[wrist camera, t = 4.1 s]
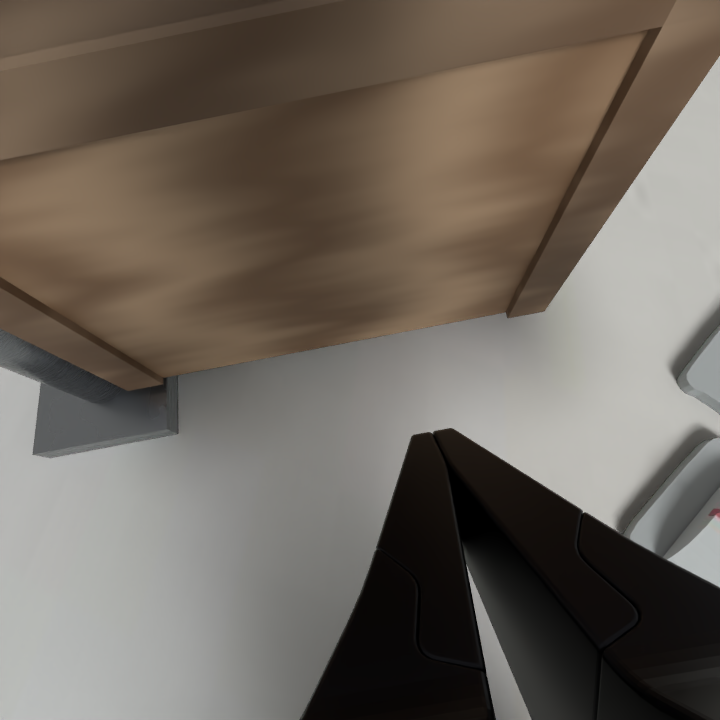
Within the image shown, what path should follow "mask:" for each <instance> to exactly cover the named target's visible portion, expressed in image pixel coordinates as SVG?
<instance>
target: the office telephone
mask: <svg viewBox="0 0 720 720" xmlns="http://www.w3.org/2000/svg"><path fill="white" fill-rule="evenodd" d="M677 384H678V386H679V388H680V389H681V390H682V391H683V392H684V393H686V394H688V395H691V396H693V397H695V398H697V399H698V400H700V401H701V402H703V403H704V404H706V405H707V406H709V407H710V408H712V409H713V410H715V411H716V412H717V413H719V414H720V325H719V326H718V327H717V328H716V329H715V330H714V332H713V333H712V334H711V335H710V336H709V337H708V338H707V340H706V341H705V342H704V343H703V345H702V346H701V347H700V349H699V350H698V351H697V352H696V354H695V355H694V356H693V358H692V359H691V360H690V361H689V363H688V364H687V365H686V367H685V368H684V369H683V370H682V372H681V374H680V375H679V377H678V378H677ZM623 535H624V536H626V537H627V538H629V539H631V540H632V541H634V542H636V543H638V544H639V545H641V546H643V547H645V548H647V549H649V550H650V551H652V552H654V553H656V554H658V555H660V556H661V557H663V558H665V559H667V560H669V561H671V562H672V563H674V564H676V565H678V566H680V567H682V568H684V569H686V570H688V571H690V572H692V573H693V574H695V575H697V576H699V577H701V578H703V579H705V580H707V581H709V582H711V583H713V584H715V585H716V586H718V587H720V438H714V439H710V440H706V441H703V442H702V443H700V444H699V445H697V446H696V448H695V449H694V450H693V451H692V452H691V453H690V454H689V455H688V456H687V457H686V458H685V459H684V460H683V461H682V462H681V463H680V465H679V466H678V467H677V468H676V469H675V470H674V471H673V472H672V474H671V475H670V476H669V477H668V478H667V479H666V481H665V482H664V483H663V484H662V485H661V487H660V488H659V489H658V490H657V491H656V492H655V494H654V495H653V496H652V497H651V498H650V499H649V501H648V502H647V503H646V504H645V505H644V507H643V508H642V509H641V510H640V511H639V512H638V514H637V515H636V516H635V517H634V518H633V520H632V521H631V522H630V523H629V525H628V527H627V528H626V530H625V532H624V533H623Z"/></svg>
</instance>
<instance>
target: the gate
mask: <svg viewBox="0 0 720 720" xmlns="http://www.w3.org/2000/svg"><path fill="white" fill-rule="evenodd" d="M719 56H720V0H0V329H2V330H4V331H6V332H8V333H10V334H12V335H14V336H16V337H19V338H21V339H23V340H25V341H27V342H29V343H31V344H33V345H35V346H37V347H39V348H41V349H43V350H45V351H47V352H49V353H51V354H53V355H55V356H57V357H59V358H61V359H63V360H65V361H67V362H70V363H72V364H74V365H76V366H78V367H80V368H82V369H84V370H86V371H88V372H90V373H92V374H94V375H96V376H98V377H100V378H102V379H104V380H106V381H108V382H110V383H112V384H114V385H116V386H118V387H121V388H123V389H125V390H127V391H131V390H136V389H141V388H146V387H152V386H157V385H162V384H163V378H165V377H171V376H176V375H181V374H186V373H191V372H197V371H202V370H207V369H212V368H218V367H223V366H228V365H233V364H238V363H244V362H249V361H254V360H259V359H264V358H270V357H275V356H280V355H285V354H291V353H296V352H301V351H306V350H311V349H317V348H322V347H327V346H332V345H337V344H343V343H348V342H353V341H358V340H364V339H369V338H374V337H379V336H384V335H390V334H395V333H400V332H405V331H410V330H416V329H421V328H426V327H431V326H437V325H442V324H447V323H452V322H457V321H463V320H468V319H473V318H478V317H483V316H489V315H494V314H499V313H504V312H506V315H507V318H512V317H517V316H522V315H528V314H533V313H538V312H543V311H545V310H546V308H547V307H548V305H549V304H550V302H551V301H552V299H553V298H554V296H555V295H556V294H557V292H558V291H559V289H560V288H561V286H562V285H563V283H564V282H565V280H566V279H567V277H568V276H569V275H570V273H571V272H572V270H573V269H574V267H575V266H576V264H577V263H578V261H579V260H580V259H581V257H582V256H583V254H584V253H585V251H586V250H587V248H588V247H589V245H590V244H591V242H592V241H593V240H594V238H595V237H596V235H597V234H598V232H599V231H600V229H601V228H602V226H603V225H604V224H605V222H606V221H607V219H608V218H609V216H610V215H611V213H612V212H613V210H614V209H615V207H616V206H617V205H618V203H619V202H620V200H621V199H622V197H623V196H624V194H625V193H626V191H627V190H628V189H629V187H630V186H631V184H632V183H633V181H634V180H635V178H636V177H637V175H638V174H639V172H640V171H641V170H642V168H643V167H644V165H645V164H646V162H647V161H648V159H649V158H650V156H651V155H652V154H653V152H654V151H655V149H656V148H657V146H658V145H659V143H660V142H661V140H662V139H663V137H664V136H665V135H666V133H667V132H668V130H669V129H670V127H671V126H672V124H673V123H674V121H675V120H676V119H677V117H678V116H679V114H680V113H681V111H682V110H683V108H684V107H685V105H686V104H687V102H688V101H689V100H690V98H691V97H692V95H693V94H694V92H695V91H696V89H697V88H698V86H699V85H700V84H701V82H702V81H703V79H704V78H705V76H706V75H707V73H708V72H709V70H710V69H711V67H712V66H713V65H714V63H715V62H716V60H717V59H718V57H719Z"/></svg>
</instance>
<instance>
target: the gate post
mask: <svg viewBox="0 0 720 720" xmlns="http://www.w3.org/2000/svg"><path fill="white" fill-rule="evenodd" d="M0 367H3V368H5V369H8V370H10V371H13V372H15V373H18V374H20V375H23V376H25V377H28V378H30V379H33V380H36V381H38V382H41V387H40V396H39V404H38V413H37V422H36V430H35V439H34V447H33V455H37V456H42V457H48V458H53V457H58V456H63V455H69V454H74V453H79V452H84V451H90V450H95V449H100V448H106V447H111V446H116V445H121V444H127V443H132V442H137V441H142V440H148V439H153V438H158V437H164V436H169V435H174V434H178V389H177V375H176V376H171V377H165V378H163V384H162V385H157V386H152V387H146V388H141V389H136V390H131V391H127V390H125V389H123V388H121V387H118V386H116V385H114V384H112V383H110V382H108V381H106V380H104V379H102V378H100V377H98V376H96V375H94V374H92V373H90V372H88V371H86V370H84V369H82V368H80V367H78V366H76V365H74V364H72V363H70V362H67V361H65V360H63V359H61V358H59V357H57V356H55V355H53V354H51V353H49V352H47V351H45V350H43V349H41V348H39V347H37V346H35V345H33V344H31V343H29V342H27V341H25V340H23V339H21V338H19V337H16V336H14V335H12V334H10V333H8V332H6V331H4V330H2V329H0Z"/></svg>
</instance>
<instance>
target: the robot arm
mask: <svg viewBox="0 0 720 720" xmlns="http://www.w3.org/2000/svg"><path fill="white" fill-rule="evenodd" d="M466 564H467V566H468V569H469V571H470V574H471V576H472V578H473V581H474V583H475V585H476V588H477V590H478V593H479V595H480V597H481V600H482V602H483V605H484V607H485V609H486V612H487V614H488V616H489V619H490V621H491V624H492V626H493V628H494V631H495V633H496V635H497V638H498V640H499V643H500V645H501V647H502V650H503V652H504V654H505V657H506V659H507V662H508V664H509V666H510V669H511V671H512V673H513V676H514V678H515V681H516V683H517V685H518V688H519V690H520V693H521V695H522V697H523V700H524V702H525V704H526V707H527V709H528V712H529V714H530V716H531V719H532V720H720V587H718V586H716V585H715V584H713V583H711V582H709V581H707V580H705V579H703V578H701V577H699V576H697V575H695V574H693V573H692V572H690V571H688V570H686V569H684V568H682V567H680V566H678V565H676V564H674V563H672V562H671V561H669V560H667V559H665V558H663V557H661V556H660V555H658V554H656V553H654V552H652V551H650V550H649V549H647V548H645V547H643V546H641V545H639V544H638V543H636V542H634V541H632V540H631V539H629V538H627V537H626V536H624V535H622V534H621V533H619V532H617V531H616V530H614V529H612V528H611V527H609V526H607V525H606V524H604V523H603V522H601V521H599V520H598V519H596V518H595V517H593V516H591V515H590V514H588V513H586V512H585V513H583V511H582V510H581V509H580V508H578V507H577V506H575V505H574V504H572V503H570V502H569V501H567V500H566V499H564V498H562V497H561V496H559V495H558V494H556V493H555V492H553V491H551V490H550V489H548V488H547V487H545V486H543V485H542V484H540V483H539V482H537V481H535V480H534V479H532V478H531V477H529V476H527V475H526V474H524V473H523V472H521V471H520V470H518V469H516V468H515V467H513V466H512V465H510V464H508V463H507V462H505V461H504V460H502V459H500V458H499V457H497V456H496V455H494V454H493V453H491V452H489V451H488V450H486V449H485V448H483V447H481V446H480V445H478V444H477V443H475V442H473V441H472V440H470V439H469V438H467V437H466V436H464V435H462V434H461V433H459V432H458V431H456V430H454V429H452V428H448V429H443V430H438V431H434V432H433V434H432V433H430V432H427V433H421V434H416V435H413V436H412V437H411V440H410V443H409V446H408V449H407V452H406V455H405V459H404V462H403V465H402V468H401V471H400V474H399V477H398V481H397V484H396V487H395V490H394V493H393V496H392V499H391V503H390V506H389V509H388V512H387V515H386V518H385V521H384V524H383V528H382V531H381V534H380V537H379V540H378V543H377V546H376V550H375V552H374V555H373V558H372V561H371V565H370V568H369V570H368V573H367V576H366V579H365V581H364V584H363V587H362V590H361V592H360V595H359V597H358V599H357V602H356V604H355V606H354V608H353V611H352V613H351V615H350V617H349V620H348V622H347V624H346V626H345V628H344V630H343V632H342V634H341V637H340V639H339V641H338V643H337V645H336V647H335V649H334V651H333V653H332V655H331V657H330V659H329V661H328V664H327V666H326V668H325V670H324V672H323V674H322V676H321V678H320V680H319V682H318V684H317V686H316V688H315V691H314V693H313V695H312V697H311V699H310V701H309V703H308V705H307V707H306V709H305V711H304V713H303V715H302V717H301V718H300V720H496V718H495V713H494V709H493V704H492V699H491V694H490V689H489V684H488V679H487V676H486V668H485V662H484V657H483V652H482V646H481V641H480V636H479V630H478V625H477V620H476V614H475V609H474V604H473V598H472V593H471V588H470V582H469V577H468V572H467V566H466Z"/></svg>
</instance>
